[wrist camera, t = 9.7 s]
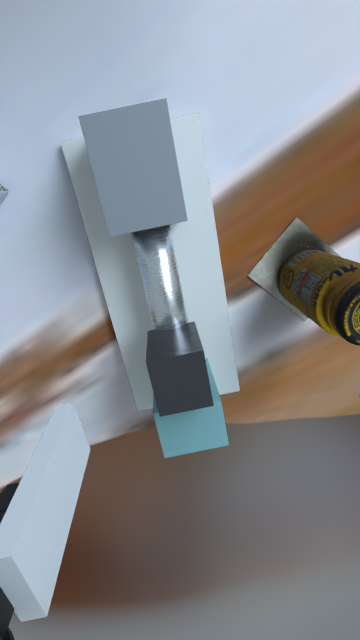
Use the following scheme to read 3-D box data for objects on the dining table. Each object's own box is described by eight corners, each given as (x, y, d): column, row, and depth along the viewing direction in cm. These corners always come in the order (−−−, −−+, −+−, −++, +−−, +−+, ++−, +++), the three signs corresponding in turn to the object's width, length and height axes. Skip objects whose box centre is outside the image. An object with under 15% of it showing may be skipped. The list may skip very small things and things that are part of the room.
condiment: (303, 320, 36) (370, 374, 25) (247, 275, 34) (292, 312, 23) (351, 267, 34) (446, 299, 23) (295, 216, 32) (370, 225, 21)
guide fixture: (63, 143, 28) (24, 119, 20) (197, 115, 28) (214, 79, 20) (138, 406, 38) (132, 464, 30) (237, 386, 38) (260, 438, 30)
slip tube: (117, 194, 28) (101, 191, 20) (167, 184, 28) (171, 177, 20) (168, 404, 36) (172, 464, 28) (207, 396, 36) (222, 454, 28)
